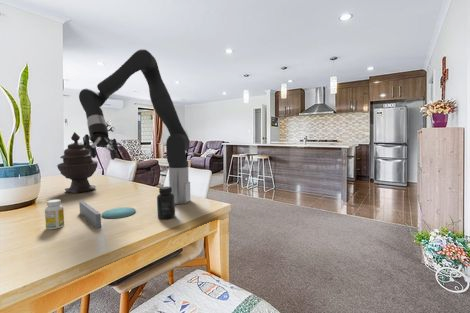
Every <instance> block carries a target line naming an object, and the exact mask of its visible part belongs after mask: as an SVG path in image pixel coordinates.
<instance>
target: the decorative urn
mask: <svg viewBox="0 0 470 313" xmlns="http://www.w3.org/2000/svg"><path fill="white" fill-rule="evenodd" d="M70 138H71V140H72V141H74V142H72V143H69V144H68V145H67V148H66V149H64V150H63V155H61V156H60V157H59V158H60V159H62V162H60V163H58V164H57V165H56V167H57V169H58V171H59V172H60V174H61V175H62V176H64V177H65V179H67V180H68V179H69V180H71V183H70V187H66V188H64V191H65V192H67V193H72V194H78V193H79V194H81V193H83V192H89V191H93V190H94V189H96V188H97V186H96V185H94V184H90V182H89V179H88V178H91V177H93V175H94V174H95V172H96V171H97V168H98V163H99V162H98V161H97V160H95V159H93V158H92V157H91V155H90V150H89V149H85V148H84V143H82V142H79V140H80V139H81V137H80V135H79V134H77V133H76V132H75V131H74V132H73V134H72V136H71V137H70Z"/></svg>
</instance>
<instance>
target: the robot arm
mask: <svg viewBox="0 0 470 313" xmlns="http://www.w3.org/2000/svg"><path fill="white" fill-rule="evenodd" d="M139 71H141V73H142V75H143V76H144V78H145V80H146V82H147V86H148V90H149V98H150V101H151V104H152V106H153V109H154V111H155V113H156V114H157V116H158V118H159V119H160V120H161V121H162V123H163V124H164V126H165V127H166V129H167V131H168V133H169V136H168V137H167V139H166V144H165V149H166V161H167V163H168V185H169V186H168V187H172V192H171V193H172V194H174V196H175V205H181V204H185V205H186V204H188V203H189V202H190V201H191V181H190V180H189V178H190V177H189V161H188V160H187V157H186V152H187V151H188V149H189V148H190V146H191V142H190V139H189V136H188V134H187V133H186V131H185V129H184V126H182V123H181V121H180V118H179V115H178V113H177V110H176V107H175V105H174V102H173V100H172V97H171V94H170V93H169V91H168V89H167V86H166V84H165V83H164V80H163V78H162V76H161V73H160V72H161V71H160V69H159V65H158V61H157V59H156V58H155V57H154V55H153V54H152V53H151V52H149V50H148V49H143V48H141V49H138V50H136V51H135V52H134V53H132V55H130V57H129V58H128V59H127V60H126V61H125V62H124V63H123V64H121V66H120V67H119V68H117V69H116V70H115V71H114V72H113V73H111V74H110V75H108V77H106V78H104V79H103V80H102V81H100V82H99V83H98V84H97V85H96V87H97V89H98V91H99V92H98V93H97V92H95V91H94V90H92V89H91V88H83V89H81V90H80V92H79V94H78V98H79V102H80V105H81V107H82V109H83V110H84V112H85V116H86V120H87V121H86V122H87V123H86V124H87V129H88V134H87V133H86V134H85V135H84V136H83V137H82V142H83V143H82V144H84V148H85V149H89V150H90V155H91V157H92V159H94V158H97V152H96V147H98V148H104V149H105V150H106V151H108V152H109V156H110V158H111V160H112V161H114V160H116V158H117V155H116V154H117V153H116V152H117V151H119V149H120V148H119V146H118V142H117V140H116V138H113V139H112V138H111V139H110V137H109V131H108V130H109V129H108V126H107V121H106V119H105V116H104V111H103V109H102V108H101V107H102V106H103V105H104V104H105V103H106V101H107V100H108V99H109V98H110V97H111V95H113V94H115V93H116V92H118V91H119V90H120V89H121V88H122V87H123V86H124V85H125V84H126V83H127V81H128V80H129V79H130V77H131V76H132V75H134V74H135V73H137V72H139ZM90 141H91V143H92V144H91V143H90ZM90 144H91V145H90Z"/></svg>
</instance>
